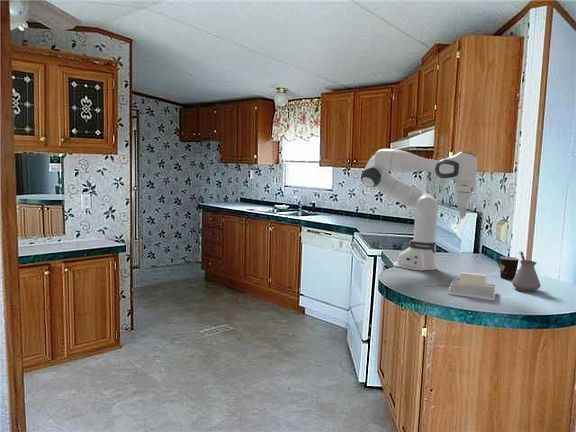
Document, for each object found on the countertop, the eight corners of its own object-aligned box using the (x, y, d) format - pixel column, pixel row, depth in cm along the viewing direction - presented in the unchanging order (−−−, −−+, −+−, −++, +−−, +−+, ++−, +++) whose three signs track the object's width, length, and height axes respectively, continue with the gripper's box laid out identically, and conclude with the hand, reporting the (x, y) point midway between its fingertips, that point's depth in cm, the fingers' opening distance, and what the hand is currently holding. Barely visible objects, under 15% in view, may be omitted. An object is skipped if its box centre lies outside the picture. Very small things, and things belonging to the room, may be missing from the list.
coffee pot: (543, 294, 203) (546, 260, 201) (514, 291, 206) (516, 258, 204) (531, 283, 223) (534, 252, 222) (505, 280, 226) (508, 250, 225)
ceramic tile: (458, 291, 199) (460, 273, 198) (459, 290, 201) (460, 271, 200) (484, 295, 195) (485, 276, 194) (484, 293, 197) (486, 274, 196)
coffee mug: (519, 280, 227) (521, 260, 226) (500, 279, 229) (502, 259, 228) (512, 275, 239) (514, 256, 238) (494, 274, 240) (496, 255, 239)
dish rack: (448, 294, 198) (448, 284, 198) (451, 287, 210) (452, 278, 210) (494, 300, 191) (495, 290, 190) (495, 293, 202) (496, 284, 202)
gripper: (459, 186, 226) (457, 215, 227) (455, 187, 207) (453, 218, 209) (473, 187, 223) (471, 216, 225) (470, 188, 205) (468, 220, 206)
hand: (462, 217), depth 217 cm, fingers open, 8 cm apart
